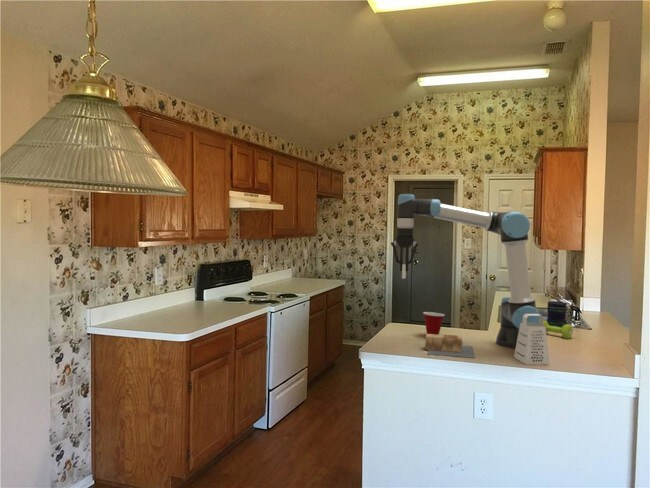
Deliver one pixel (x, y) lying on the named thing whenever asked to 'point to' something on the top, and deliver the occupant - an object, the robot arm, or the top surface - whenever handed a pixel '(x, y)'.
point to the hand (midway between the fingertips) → (403, 278)
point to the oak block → (443, 342)
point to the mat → (466, 352)
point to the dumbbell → (560, 329)
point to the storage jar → (556, 313)
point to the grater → (532, 342)
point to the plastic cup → (433, 322)
